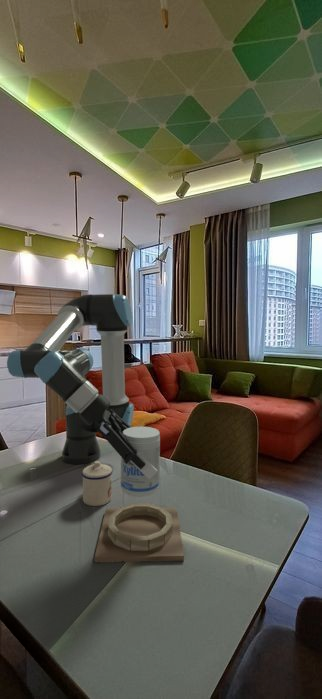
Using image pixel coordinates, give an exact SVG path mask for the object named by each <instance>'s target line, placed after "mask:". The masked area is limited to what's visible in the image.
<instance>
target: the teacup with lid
mask: <svg viewBox="0 0 322 699" xmlns="http://www.w3.org/2000/svg"><path fill="white" fill-rule="evenodd" d="M112 474H113V468H112V467H111V466H109V465H107V464H103V463H101V461H100V460H95V461H93V463H92V464H91V465H87V466H86V467H84V469H82V471H81V476H82V501H83V503H84V504H86V506H90V507H101V506H104V505H106V504H107V503H109V502H110V501H112V497H113V496H112V494H113V493H112V491H113V490H112V489H113V486H112V484H113V483H112V480H113V479H112V477H113V476H112Z"/></svg>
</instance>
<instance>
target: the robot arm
mask: <svg viewBox="0 0 322 699" xmlns="http://www.w3.org/2000/svg"><path fill="white" fill-rule="evenodd" d="M132 314H133V313H132V307H131V304H130V300H129V298H128V297H127V296H126V295H124V294H117V293H116V294H115V293H113V294H111V293H110V294H107V293H106V294H101V293H100V294H90V293H89V294H82V295H80V296H77V297H74V298H73V299H71V300H70V301H68V302H67V303H65V304H64V305H63V306H62V307H61V308H60V309H59V310H58V312H57V315H56V317H55V318H54V319H53V320H52V321H51V323H50V324H49V325H48V326H46V328H45V329H44V330H43V331H42V332H41V333H40V334H39V335H38V336H37V337H36V338H35V339H34V340H33V341H32V343H30V344H29V346H27V347H26V348H25V349H19V350H18V349H17V350H12V351H11V352H10V353H9V355H8V357H7V361H6V368H7V370H8V373H9V374H10V375H11V376H12V377H14V378H15V377H16V378H24V379H26V378H27V379H28V378H29V379H30V378H33V379H36V378H37V379H40V380H41V381H42V383H44V384H45V385H46V386H47V387H48V388H49V389H51V391H53V392H54V393H55V394H56V395H57V396H58V397H59V398H60V399H61V400H62V401H63V402H64V403H65V404H66V406H65V434H66V435H65V436H66V437H65V438H66V440H65V443H64V445H63V449H62V450H61V451H62V452H61V460H62V461H63V462H65V463H67V464H72V465H82V464H83V465H84V464H88V463H92V462H93V463H94V462H95V461H98V460H99V458H100V457H101V448H100V444H99V441H98V439H97V433H99V434H100V436H102V437H103V438H104V439H105V440H106V441H107V442H108V443H109V445H110V446H112V448H113V449H114V450H115V451H116V452H117V454H118V455H119V456H120V457H122V458H123V459H124V461H125V462H126V463H128V462H129V461H131V462H132V463H133V464H134V465H135V466H136V467H137V468H138V469H139V470H140V471H141V472H142V473H143V474H144V475H145V476H146V477H147V478H148V479H150V478H151V477H152V476H153V475H154V474H155V473H156V472H157V469H156V468H155V467H154V466H153V465H151V464H150V463H149V462H148V461H147V460H146V459H145V458H144V457H143V456H142V455H141V454H140V453H139V452H136V451H135V450H134V448H133V447H132V446H131V444H130V443H129V442H128V441H127V439H126V438H125V437H124V435H123V431H124V430H125V429H127V428H131V427H132V424H133V420H134V419H133V418H134V411H135V408H134V404H133V403H130V398H129V397H128V396H127V395H126V383H125V381H126V378H125V339H124V338H125V337H124V336H125V334H126V333H127V331H128V327H130V326H131V325H132V323H133V319H132V318H133V316H132ZM85 326H93V327H94V326H95V327H96V333H98V334H99V335H100V345H101V346H100V349H101V351H100V352H101V373H102V374H101V375H102V376H101V379H102V393H99V390H98V389H97V388H96V387H95V385H93V384H92V383H91V382H90V381H89V380H87V378H86V377H85V376H86V375H87V374H88V373H89V372H90V370H92V368H93V366H94V358H93V356H92V354H91V352H90V351H89V350H87V349H86V348H82V347H78V348H74V349H72V350H61V349H62V348H63V346H64V345H65V344H66V342H67V341H68V340H69V338H71V337H72V335H73V334H74V332H75V331H78V330H79V329H81V328H82V327H85ZM127 453H128V454H127Z"/></svg>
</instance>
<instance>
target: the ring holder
mask: <svg viewBox="0 0 322 699" xmlns="http://www.w3.org/2000/svg"><path fill="white" fill-rule="evenodd" d="M178 515H179V514H178V509H177V507H162V506H159V505H157V504H152V503H148V502H147V503H142V502H141V503H140V502H139V503H136V502H135V503H131V504H128V505H127V504H126V505H125V506H122V507H119V508H105V511H104V515H103V519H102V525H101V529H100V532H99V537H98V542H97V544H96V551H95V553H94V554H95V555H94V563H95V562H100V563H113V562H112V561H116V562H115V563H122V562H121V561H124V562H123V563H133V562H135V563H136V562H137V563H138V562H139V563H140V561H151V562H183V561H185V555H184V553H185V552H184V548H183V541H182V535H181V529H180V528H181V527H180V522H179V516H178ZM109 561H110V562H109Z"/></svg>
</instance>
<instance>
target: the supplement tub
mask: <svg viewBox="0 0 322 699" xmlns="http://www.w3.org/2000/svg"><path fill="white" fill-rule="evenodd" d="M123 435H124V437H125V438H126V439H127V441H128V442H129V443H130V444H131V446H132V447H133V448H134V450H135V451H136V452H139V453H140V454H141V455H142V456H143V457H144V458H145V459H146V460H147V461H148V462H149V463H150V464H151V465H153V466H154V467H155V468H156V469H157V472H156V473H155V474H154V475H153V476H152V477H151V478H150V479H148V478H147V477H146V476H145V475H144V474H143V473H142V472H141V471H140V470H139V469H138V468H137V467H136V466H135V465H134V464H133V463H132V462H131V461H129V462H128V463H126V462H125V461H124V459H123V458H122V457H121V456H120V457H121V458H120V460H121V462H120V488H121V491H122V492H123V493H124V494H126V495H128V496H131V497H135V498H143V497H148V496H151V495H153V494H155V493H156V492H157V491H158V489H159V486H160V460H161V459H160V458H161V457H160V455H161V454H160V453H161V435H160V431H159V429H157V428H154V427H149V426H131V428H127V429H125V430H124V431H123ZM127 454H128V453H127Z"/></svg>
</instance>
